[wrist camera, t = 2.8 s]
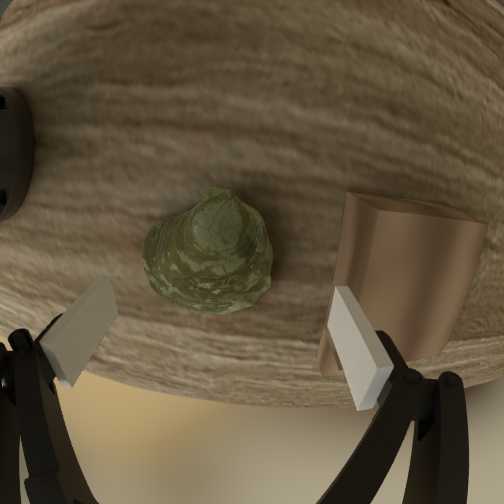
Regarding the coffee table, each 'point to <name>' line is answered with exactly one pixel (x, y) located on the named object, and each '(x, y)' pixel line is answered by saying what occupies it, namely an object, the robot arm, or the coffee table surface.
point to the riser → (404, 271)
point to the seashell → (210, 255)
